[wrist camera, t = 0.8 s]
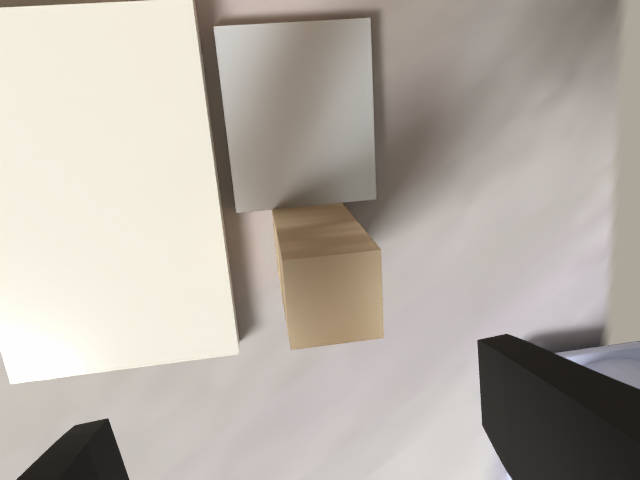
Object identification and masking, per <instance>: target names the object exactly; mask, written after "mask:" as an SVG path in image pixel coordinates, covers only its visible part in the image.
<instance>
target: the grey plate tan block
mask: <svg viewBox="0 0 640 480" xmlns="http://www.w3.org/2000/svg"><path fill="white" fill-rule="evenodd" d="M213 27H214V35H215V43H216V51H217V59H218V68H219V76H220V84H221V92H222V100H223V109H224V117H225V125H226V133H227V141H228V150H229V158H230V166H231V174H232V182H233V190H234V199H235V207H236V213H242V212H253V211H263V210H272V216H273V226H274V236H275V246H276V257H277V267H278V274H279V281H280V287H281V293H282V299H283V305H284V311H285V317H286V323H287V329H288V335H289V342H290V348H291V350H295V349H303V348H311V347H318V346H326V345H334V344H341V343H349V342H357V341H364V340H372V339H379V338H384V330H383V298H382V265H381V249H380V248H379V247H378V245H377V244H376V243H375V242H374V241H373V239H372V238H371V237H370V236H369V235H368V233H367V232H366V231H365V230H364V229H363V227H362V226H361V225H360V224H359V222H358V221H357V220H356V219H355V218H354V216H353V215H352V214H351V213H350V212H349V210H348V209H347V208H346V207H345V205H344V204H343V203H344V202H355V201H365V200H375V199H376V170H375V139H374V108H373V78H372V47H371V18H356V19H338V20H320V21H302V22H284V23H266V24H248V25H230V26H213Z"/></svg>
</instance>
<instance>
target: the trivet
mask: <svg viewBox="0 0 640 480" xmlns="http://www.w3.org/2000/svg"><path fill="white" fill-rule="evenodd" d="M239 343H240V342H239V334H238V326H237V319H236V311H235V303H234V296H233V288H232V280H231V273H230V265H229V258H228V250H227V242H226V235H225V227H224V219H223V212H222V204H221V196H220V189H219V181H218V173H217V166H216V158H215V150H214V143H213V135H212V128H211V120H210V112H209V105H208V97H207V89H206V82H205V74H204V66H203V59H202V51H201V43H200V36H199V28H198V20H197V13H196V5H195V2H194V0H146V1H125V2H105V3H84V4H64V5H43V6H23V7H2V8H0V350H1V353H2V357H3V360H4V363H5V367H6V370H7V374H8V377H9V380H10V384H15V383H22V382H30V381H38V380H45V379H53V378H60V377H68V376H76V375H83V374H91V373H99V372H106V371H114V370H122V369H129V368H137V367H145V366H152V365H160V364H168V363H175V362H183V361H191V360H198V359H206V358H213V357H221V356H229V355H236V354H239Z"/></svg>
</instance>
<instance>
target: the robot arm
mask: <svg viewBox="0 0 640 480" xmlns="http://www.w3.org/2000/svg"><path fill="white" fill-rule="evenodd" d="M478 358H479V375H480V393H481V410H482V426H483V428H484V430H485V432H486V433H487V435H488V437H489V439H490V441H491V443H492V445H493V447H494V449H495V451H496V453H497V455H498V456H499V458H500V460H501V462H502V464H503V465H504V467H505V469H506V480H640V341H638V342H630V343H623V344H615V345H608V346H601V347H594V348H587V349H580V350H573V351H566V352H558V353H553V352H550V351H548V350H546V349H543V348H541V347H539V346H536V345H534V344H532V343H529V342H527V341H524V340H522V339H519V338H517V337H514V336H511V335H508V334H504V335H499V336H495V337H490V338H485V339H480V340H478ZM17 480H129V477H128V475H127V472H126V469H125V466H124V463H123V460H122V457H121V454H120V451H119V448H118V445H117V443H116V440H115V437H114V434H113V431H112V428H111V425H110V422H109V419H103V420H98V421H93V422H89V423H84V424H79V425H75V426H74V427H72V428H71V429H70V430H69V431H68V432H66V433H65V434H64V435H63V436H62V437H61V438H60V439H59V440H57V441H56V442H55V443H54V444H53V445H52V446H51V447H50V448H49V449H48V450H47V451H46V452H45V453H44V454H43V455H41V456H40V457H39V458H38V459H37V460H36V461H35V462H34V463H33V464H32V465H31V466H30V467H29V468H28V469H27V470H26V471H25V472H24V473H23V474H22V475H21V476H20V477H19V478H18V479H17Z"/></svg>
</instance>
